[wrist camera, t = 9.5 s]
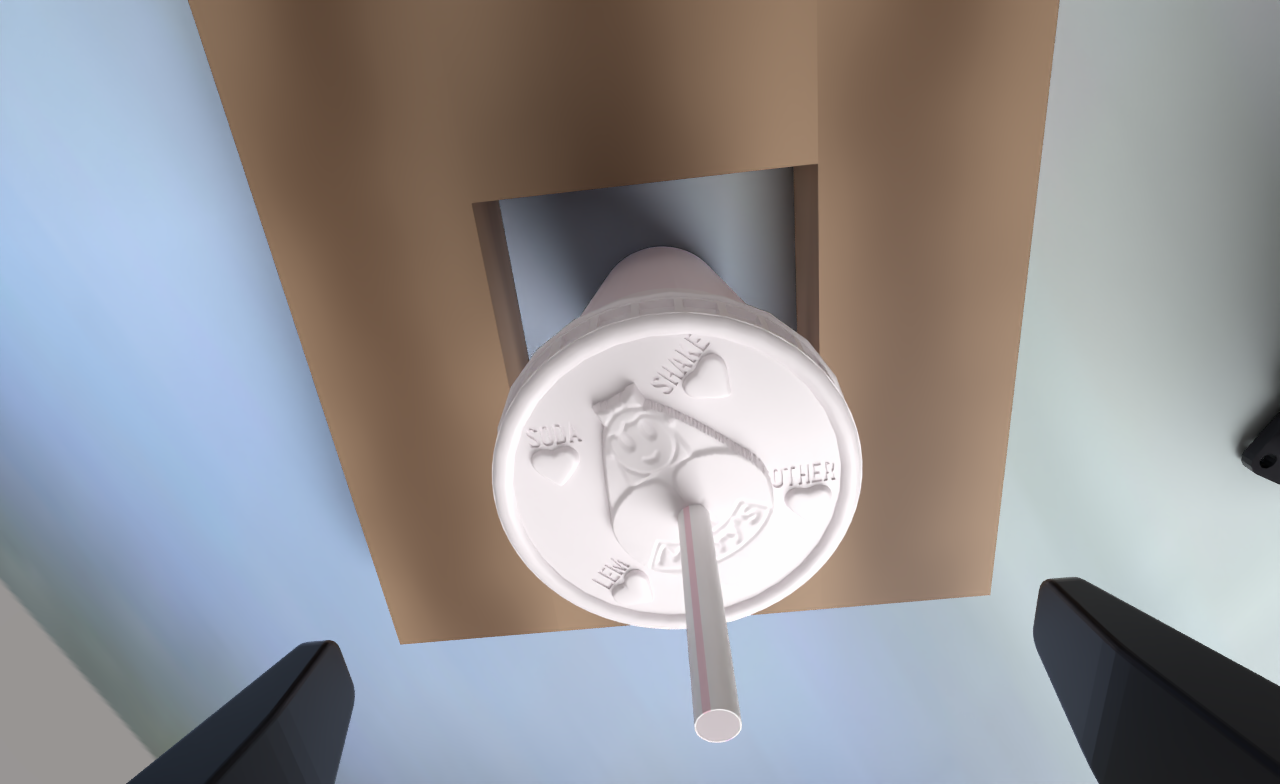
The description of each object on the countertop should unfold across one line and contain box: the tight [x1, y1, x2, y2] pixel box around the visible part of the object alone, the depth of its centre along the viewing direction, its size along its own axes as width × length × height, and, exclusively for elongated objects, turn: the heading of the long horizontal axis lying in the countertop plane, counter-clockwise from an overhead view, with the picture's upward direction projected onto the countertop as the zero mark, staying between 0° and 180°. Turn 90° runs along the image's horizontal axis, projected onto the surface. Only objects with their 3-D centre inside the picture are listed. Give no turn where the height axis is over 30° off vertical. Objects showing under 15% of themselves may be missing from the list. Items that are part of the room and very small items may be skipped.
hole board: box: [188, 0, 1059, 644], centre depth 20 cm, size 18×18×3 cm
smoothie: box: [492, 246, 862, 743], centre depth 15 cm, size 6×6×14 cm
